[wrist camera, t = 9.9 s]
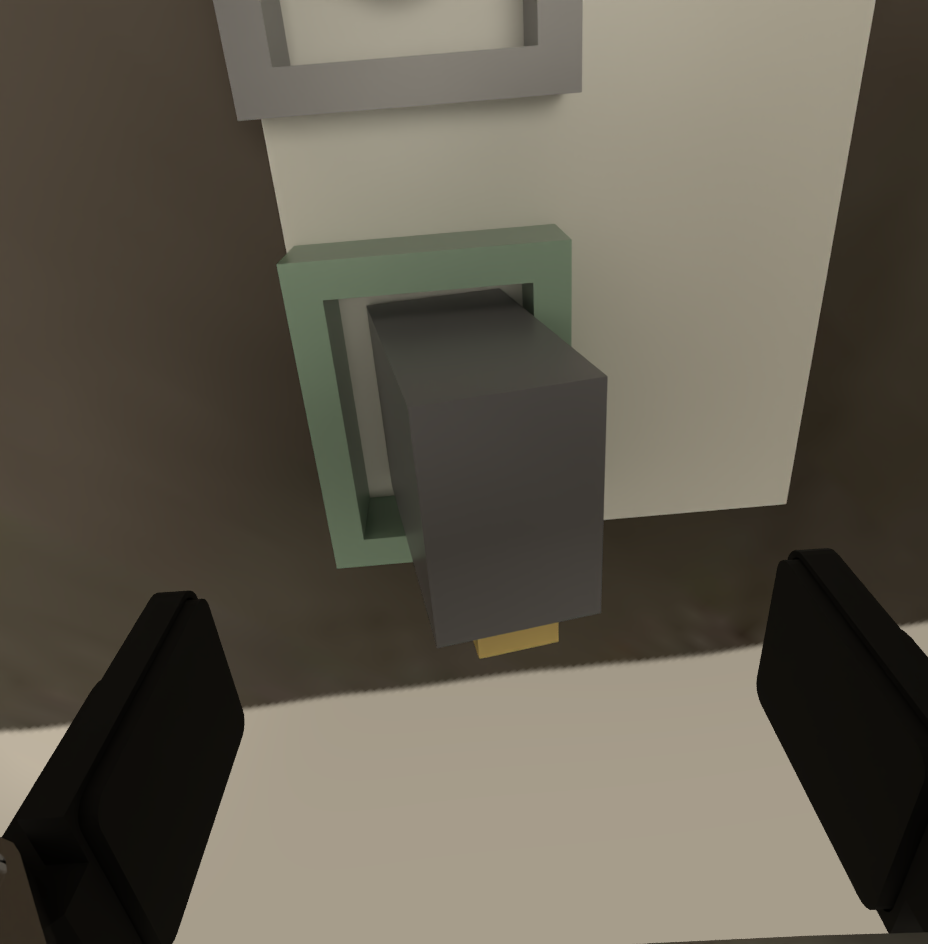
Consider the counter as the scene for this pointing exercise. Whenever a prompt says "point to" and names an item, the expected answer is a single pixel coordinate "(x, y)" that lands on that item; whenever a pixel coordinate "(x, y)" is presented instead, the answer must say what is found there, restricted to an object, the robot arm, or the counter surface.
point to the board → (588, 193)
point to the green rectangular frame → (325, 357)
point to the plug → (493, 465)
